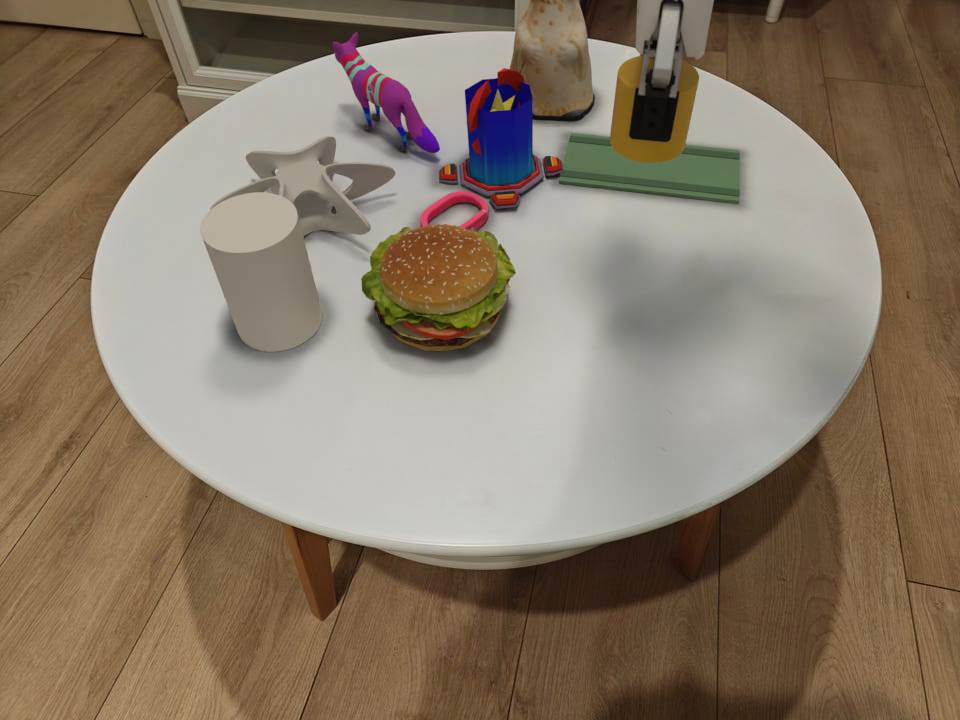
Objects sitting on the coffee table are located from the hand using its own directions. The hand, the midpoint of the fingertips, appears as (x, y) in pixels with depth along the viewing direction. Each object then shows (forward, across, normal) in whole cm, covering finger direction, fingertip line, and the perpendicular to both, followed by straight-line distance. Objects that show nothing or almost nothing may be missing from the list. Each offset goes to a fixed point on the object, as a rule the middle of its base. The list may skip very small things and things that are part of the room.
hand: (652, 112), depth 62 cm
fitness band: (+19, +7, +19) cm, 28 cm away
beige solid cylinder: (+19, -11, +32) cm, 39 cm away
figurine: (+19, +34, +12) cm, 41 cm away
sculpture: (+19, +5, +35) cm, 40 cm away
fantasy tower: (+19, +17, +16) cm, 30 cm away
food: (+19, -6, +17) cm, 26 cm away
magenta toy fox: (+19, +22, +31) cm, 42 cm away
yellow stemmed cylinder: (+3, 0, 0) cm, 3 cm away
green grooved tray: (+19, +21, -1) cm, 28 cm away
